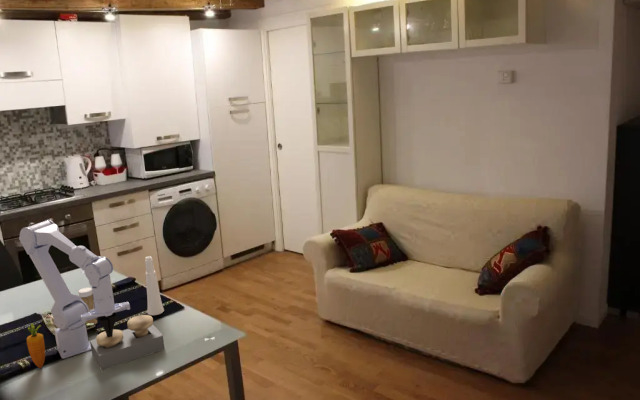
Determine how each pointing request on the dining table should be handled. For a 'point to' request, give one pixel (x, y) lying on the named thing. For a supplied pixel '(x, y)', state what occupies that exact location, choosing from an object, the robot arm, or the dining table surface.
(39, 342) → the carrot
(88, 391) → the dining table surface
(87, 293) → the sprinkles bottle
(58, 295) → the robot arm
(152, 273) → the cosmetic bottle
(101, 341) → the left peg
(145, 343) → the peg block
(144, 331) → the right peg
